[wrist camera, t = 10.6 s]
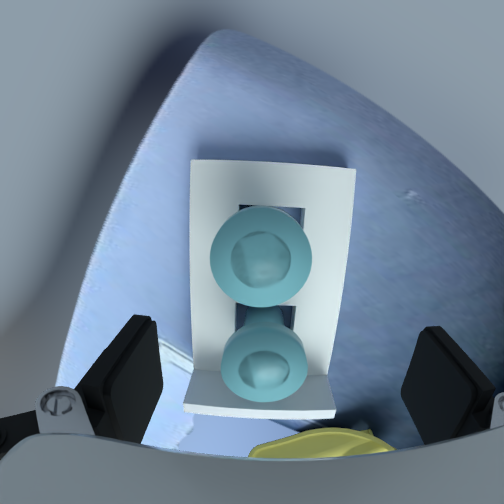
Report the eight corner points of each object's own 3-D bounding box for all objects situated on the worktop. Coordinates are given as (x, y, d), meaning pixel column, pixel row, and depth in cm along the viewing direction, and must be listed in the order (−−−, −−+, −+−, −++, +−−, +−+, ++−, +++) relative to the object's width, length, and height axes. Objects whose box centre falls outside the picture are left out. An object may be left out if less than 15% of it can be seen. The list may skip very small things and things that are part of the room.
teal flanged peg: (300, 289, 31) (313, 336, 22) (293, 347, 33) (301, 402, 24) (231, 286, 31) (220, 332, 23) (230, 344, 33) (220, 399, 24)
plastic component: (282, 494, 39) (251, 495, 32) (275, 455, 44) (244, 448, 38) (404, 456, 34) (398, 452, 28) (390, 415, 39) (381, 401, 33)
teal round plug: (300, 197, 29) (316, 212, 20) (294, 268, 30) (306, 309, 22) (225, 193, 29) (210, 207, 20) (224, 264, 31) (209, 304, 22)
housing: (348, 168, 28) (378, 171, 20) (321, 370, 34) (333, 418, 26) (196, 159, 28) (172, 158, 20) (198, 364, 34) (184, 412, 26)
